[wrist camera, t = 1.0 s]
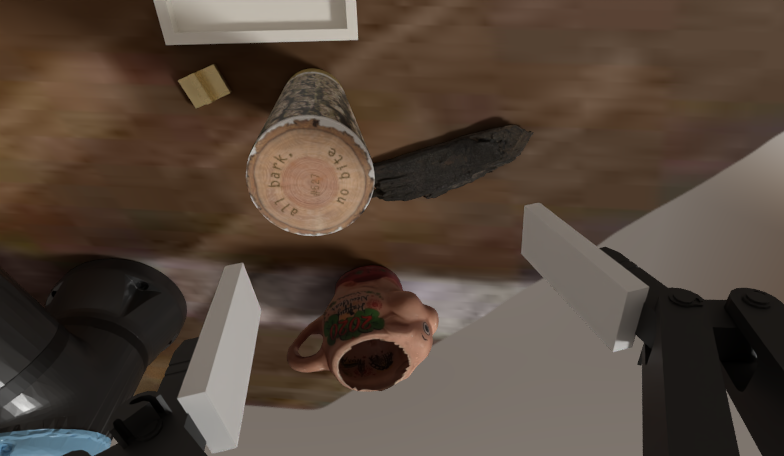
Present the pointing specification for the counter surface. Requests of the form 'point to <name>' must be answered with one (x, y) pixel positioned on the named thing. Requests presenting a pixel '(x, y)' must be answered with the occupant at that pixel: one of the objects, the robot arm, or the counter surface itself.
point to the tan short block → (205, 86)
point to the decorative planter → (369, 332)
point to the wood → (448, 164)
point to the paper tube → (311, 159)
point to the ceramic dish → (256, 21)
